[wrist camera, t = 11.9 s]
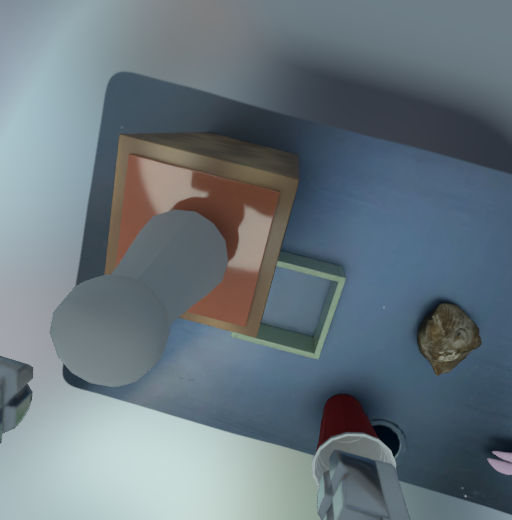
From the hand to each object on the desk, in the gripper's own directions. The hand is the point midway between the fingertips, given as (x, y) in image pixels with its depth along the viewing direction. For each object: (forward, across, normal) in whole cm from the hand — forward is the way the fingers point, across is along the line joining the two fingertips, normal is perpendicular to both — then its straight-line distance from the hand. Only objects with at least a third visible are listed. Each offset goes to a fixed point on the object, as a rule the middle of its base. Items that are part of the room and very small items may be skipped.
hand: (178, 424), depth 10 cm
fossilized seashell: (+43, -28, +14) cm, 53 cm away
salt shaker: (+17, +4, +1) cm, 17 cm away
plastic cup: (+43, -19, +30) cm, 56 cm away
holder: (+43, -6, +14) cm, 46 cm away
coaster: (+17, +4, +1) cm, 17 cm away
